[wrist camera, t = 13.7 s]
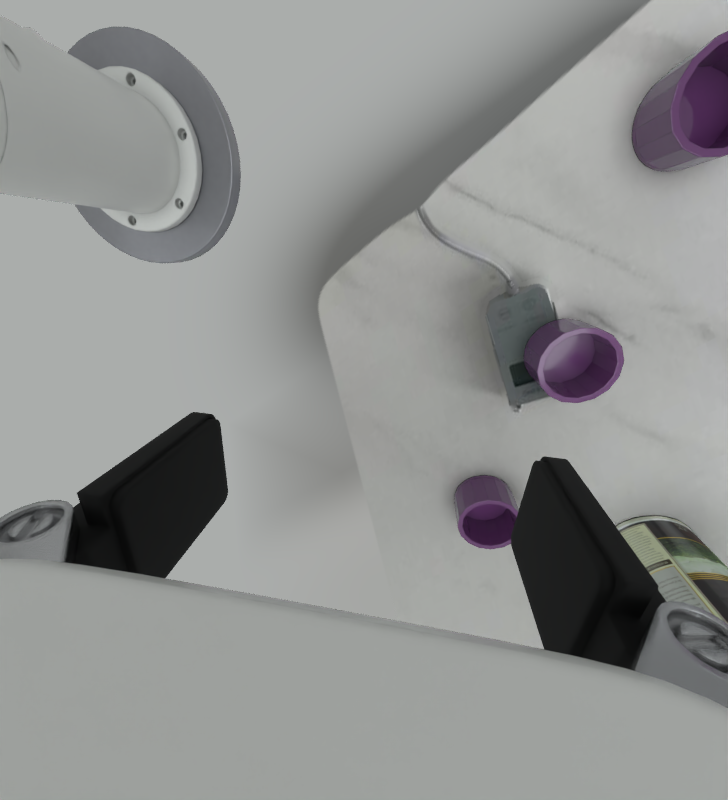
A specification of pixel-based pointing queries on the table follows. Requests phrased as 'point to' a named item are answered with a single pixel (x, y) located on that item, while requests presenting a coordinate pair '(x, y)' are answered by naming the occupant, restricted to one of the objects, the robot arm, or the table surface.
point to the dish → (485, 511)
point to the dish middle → (573, 360)
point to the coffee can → (679, 563)
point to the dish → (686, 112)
